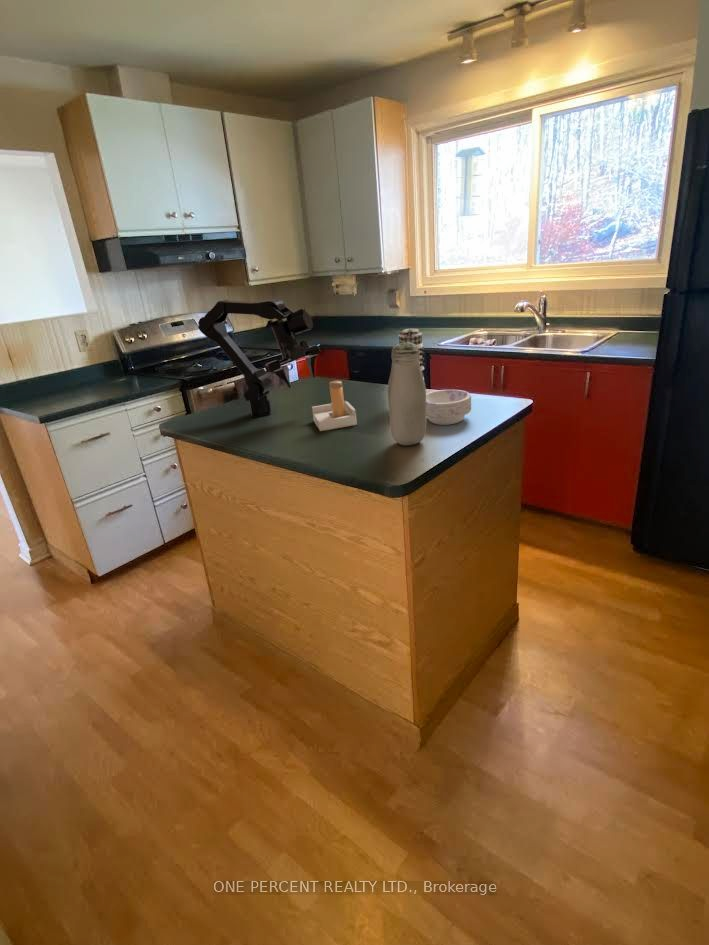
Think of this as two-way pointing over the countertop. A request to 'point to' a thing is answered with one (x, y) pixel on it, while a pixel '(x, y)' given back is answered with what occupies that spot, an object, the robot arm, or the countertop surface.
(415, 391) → the light grey bottle
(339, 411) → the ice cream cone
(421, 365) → the decorative candle
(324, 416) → the housing
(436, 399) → the paper bowls
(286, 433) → the countertop surface
